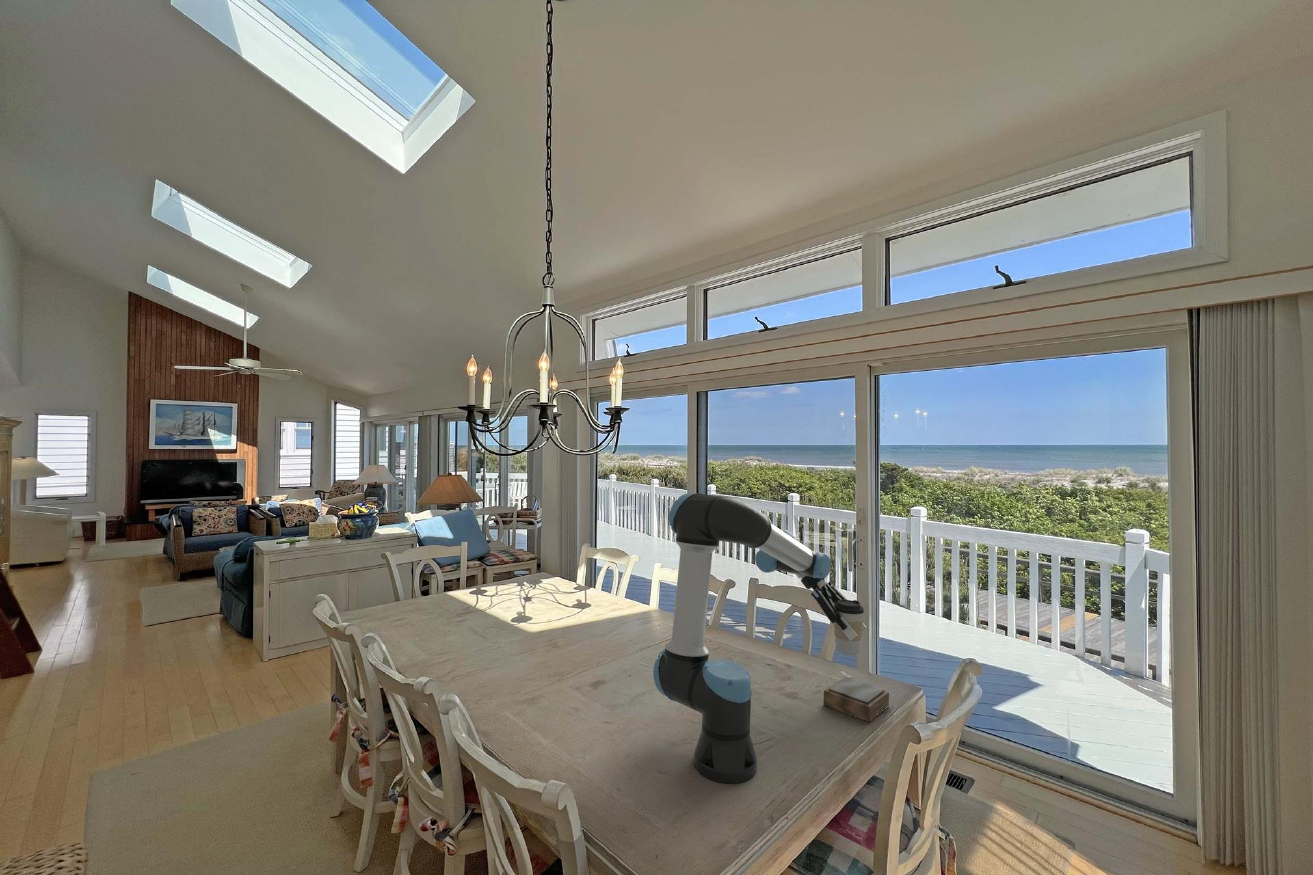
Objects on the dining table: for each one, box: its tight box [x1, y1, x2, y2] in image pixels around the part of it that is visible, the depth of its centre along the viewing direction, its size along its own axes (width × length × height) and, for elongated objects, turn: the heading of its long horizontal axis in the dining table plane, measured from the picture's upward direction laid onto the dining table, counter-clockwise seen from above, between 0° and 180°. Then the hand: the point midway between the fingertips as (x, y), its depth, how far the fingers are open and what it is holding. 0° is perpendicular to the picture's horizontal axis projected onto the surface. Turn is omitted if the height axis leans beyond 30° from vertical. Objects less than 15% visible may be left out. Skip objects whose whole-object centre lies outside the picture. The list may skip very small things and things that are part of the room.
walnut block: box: [823, 676, 890, 722], centre depth 162 cm, size 14×14×5 cm
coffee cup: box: [833, 599, 865, 656], centre depth 164 cm, size 9×9×15 cm
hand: (858, 633), depth 162 cm, fingers closed on coffee cup, 9 cm apart
